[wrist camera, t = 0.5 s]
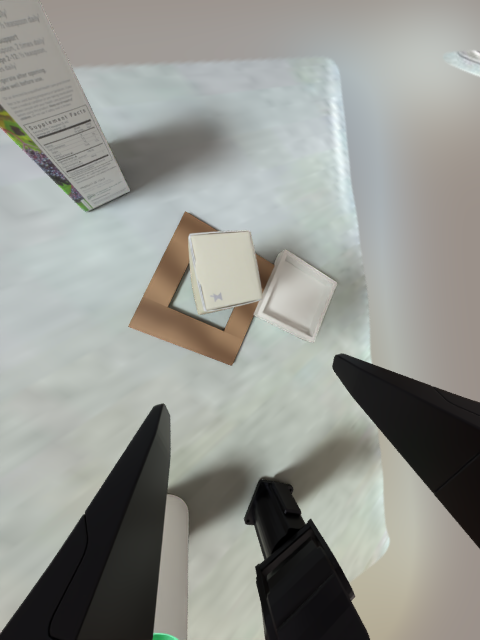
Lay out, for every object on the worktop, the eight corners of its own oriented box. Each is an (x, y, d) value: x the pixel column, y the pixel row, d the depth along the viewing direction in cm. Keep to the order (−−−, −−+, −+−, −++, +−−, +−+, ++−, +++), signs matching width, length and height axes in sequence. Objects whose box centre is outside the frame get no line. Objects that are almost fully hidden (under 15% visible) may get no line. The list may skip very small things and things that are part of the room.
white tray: (304, 340, 28) (313, 342, 26) (251, 314, 25) (257, 314, 23) (327, 284, 29) (337, 282, 27) (278, 254, 26) (285, 249, 24)
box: (228, 309, 24) (266, 304, 12) (197, 315, 23) (203, 317, 11) (220, 271, 24) (253, 226, 11) (188, 276, 23) (185, 231, 10)
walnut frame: (230, 364, 25) (231, 365, 24) (129, 326, 21) (128, 326, 20) (273, 266, 26) (275, 265, 25) (185, 213, 22) (185, 211, 22)
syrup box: (48, 164, 18) (-419, -320, 4) (100, 143, 19) (-131, -288, 5) (86, 214, 19) (-185, -44, 5) (134, 191, 20) (12, -67, 7)
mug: (143, 591, 23) (105, 813, 13) (84, 576, 21) (-16, 823, 11) (200, 506, 24) (207, 642, 14) (151, 484, 22) (118, 624, 12)
